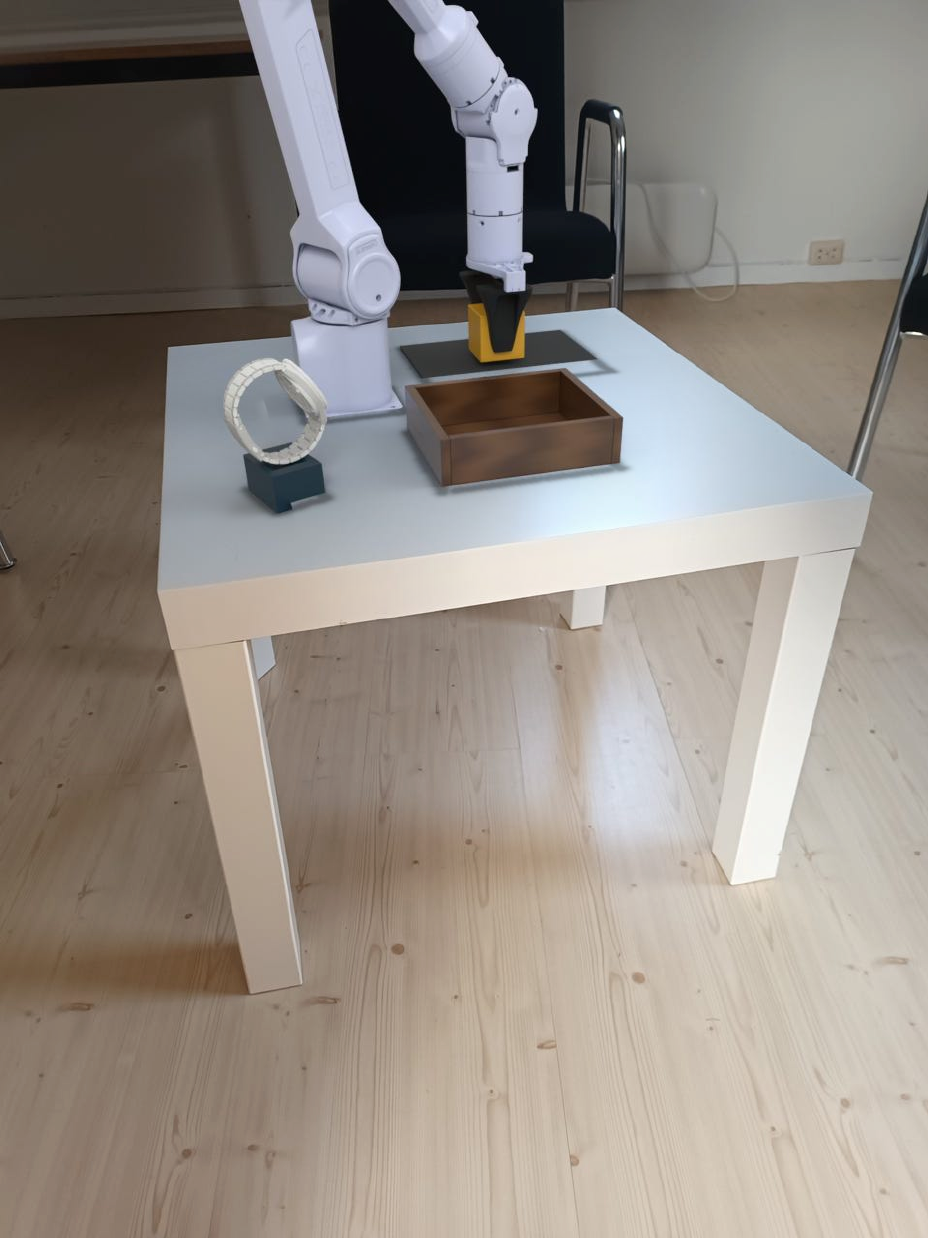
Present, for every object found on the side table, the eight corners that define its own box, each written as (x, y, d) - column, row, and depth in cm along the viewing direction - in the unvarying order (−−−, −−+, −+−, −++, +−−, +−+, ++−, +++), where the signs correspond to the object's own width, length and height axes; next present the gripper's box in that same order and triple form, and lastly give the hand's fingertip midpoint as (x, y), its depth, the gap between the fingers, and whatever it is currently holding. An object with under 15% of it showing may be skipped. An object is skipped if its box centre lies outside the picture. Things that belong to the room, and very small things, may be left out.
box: (442, 493, 75) (440, 439, 73) (407, 433, 86) (404, 385, 84) (619, 468, 79) (623, 417, 76) (563, 414, 90) (565, 367, 87)
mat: (431, 392, 96) (431, 389, 95) (400, 348, 109) (399, 345, 108) (611, 371, 100) (611, 369, 100) (560, 331, 113) (560, 329, 113)
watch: (347, 492, 76) (333, 360, 70) (256, 519, 72) (234, 382, 66) (315, 470, 80) (300, 343, 74) (228, 494, 76) (205, 362, 70)
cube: (480, 362, 100) (480, 315, 97) (468, 349, 104) (467, 304, 101) (524, 357, 101) (525, 311, 98) (510, 345, 105) (510, 300, 102)
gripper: (555, 221, 90) (551, 359, 97) (510, 198, 101) (510, 323, 109) (486, 226, 88) (487, 366, 95) (448, 202, 100) (452, 328, 107)
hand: (495, 344), depth 102 cm, fingers closed on cube, 5 cm apart
